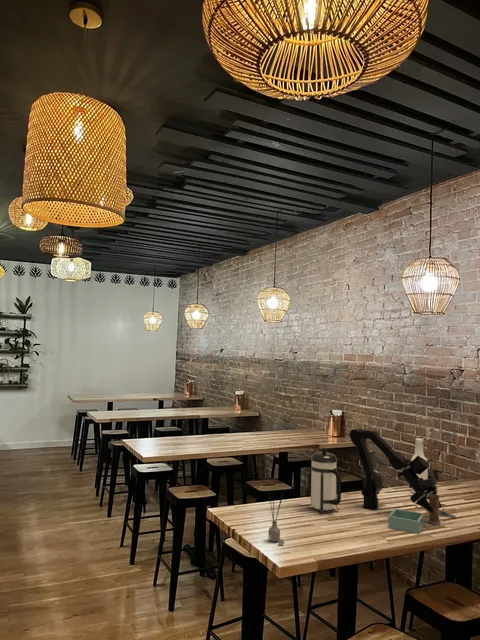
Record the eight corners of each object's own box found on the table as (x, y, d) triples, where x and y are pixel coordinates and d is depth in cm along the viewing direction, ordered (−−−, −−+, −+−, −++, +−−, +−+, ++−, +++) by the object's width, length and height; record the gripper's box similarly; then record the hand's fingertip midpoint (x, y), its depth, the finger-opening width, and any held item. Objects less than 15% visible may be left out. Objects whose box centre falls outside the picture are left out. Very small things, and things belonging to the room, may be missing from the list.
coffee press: (304, 513, 230) (305, 449, 232) (312, 503, 245) (312, 444, 247) (340, 518, 224) (341, 452, 226) (346, 508, 238) (346, 447, 241)
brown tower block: (426, 523, 219) (426, 494, 220) (430, 521, 223) (430, 492, 224) (437, 526, 216) (437, 496, 217) (441, 523, 220) (441, 494, 221)
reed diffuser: (262, 538, 196) (263, 488, 198) (274, 535, 201) (275, 486, 202) (279, 547, 188) (280, 494, 190) (291, 543, 193) (292, 492, 194)
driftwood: (458, 519, 229) (458, 514, 229) (448, 521, 226) (448, 516, 226) (424, 507, 247) (424, 502, 247) (414, 508, 244) (414, 504, 244)
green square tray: (388, 527, 213) (388, 516, 213) (394, 519, 224) (394, 508, 224) (419, 533, 206) (419, 521, 207) (424, 525, 217) (424, 513, 218)
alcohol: (425, 496, 263) (425, 440, 265) (409, 493, 268) (409, 439, 270) (429, 492, 271) (429, 438, 273) (413, 490, 275) (413, 437, 278)
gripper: (417, 473, 217) (442, 504, 209) (433, 467, 231) (457, 495, 222) (400, 487, 222) (424, 518, 214) (417, 480, 236) (440, 509, 227)
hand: (437, 509), depth 219 cm, fingers open, 9 cm apart
